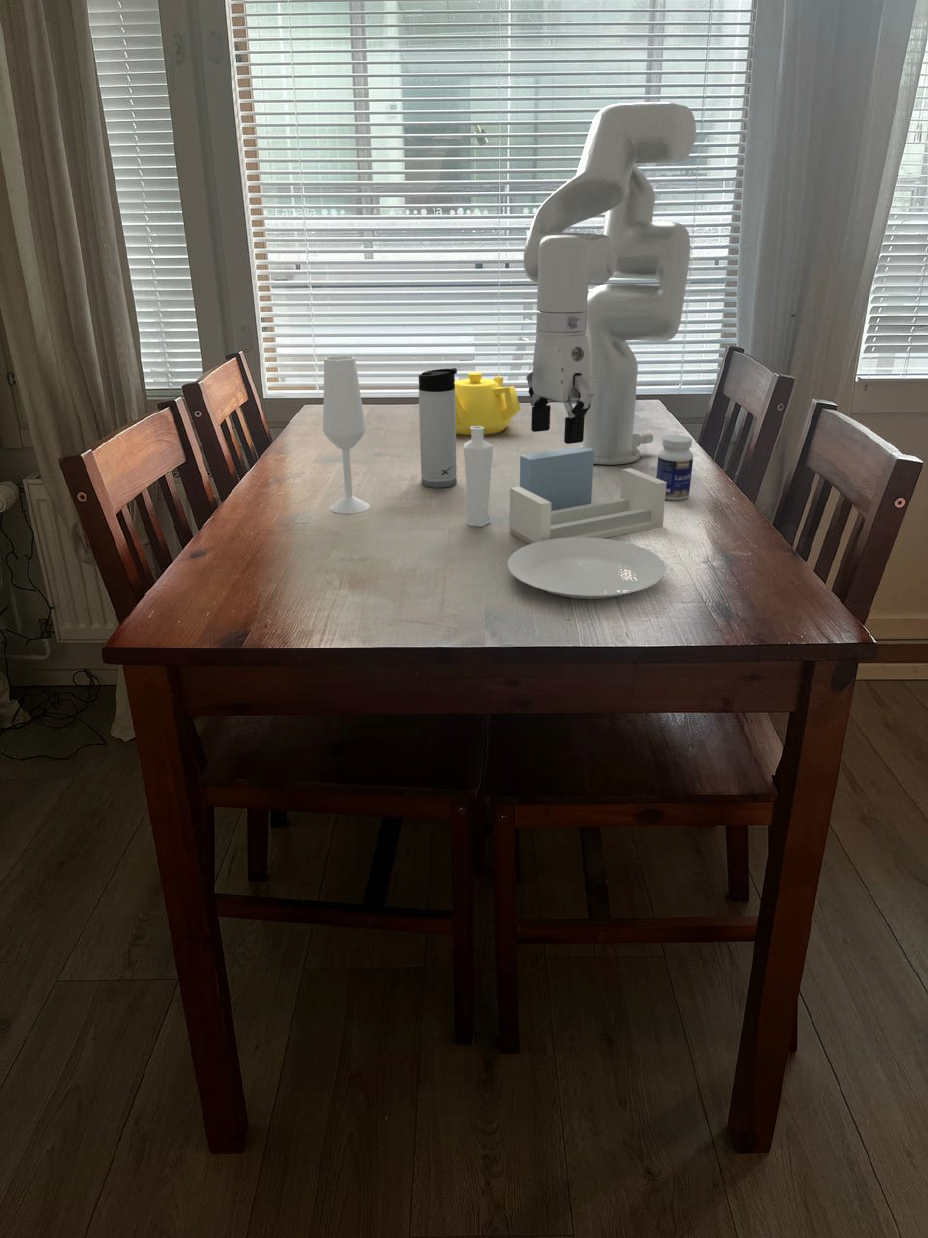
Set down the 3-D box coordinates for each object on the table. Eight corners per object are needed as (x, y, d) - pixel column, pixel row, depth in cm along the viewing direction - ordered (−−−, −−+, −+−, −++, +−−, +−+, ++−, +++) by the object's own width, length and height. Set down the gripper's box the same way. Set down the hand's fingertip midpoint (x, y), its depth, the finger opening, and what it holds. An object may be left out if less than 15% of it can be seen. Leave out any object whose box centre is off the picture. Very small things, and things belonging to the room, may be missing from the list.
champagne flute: (321, 510, 149) (309, 360, 139) (341, 499, 154) (331, 353, 144) (358, 515, 146) (348, 362, 136) (377, 503, 152) (369, 355, 142)
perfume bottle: (496, 519, 144) (496, 424, 138) (487, 528, 140) (487, 431, 134) (468, 516, 145) (467, 422, 139) (459, 525, 142) (458, 429, 135)
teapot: (522, 435, 194) (523, 377, 189) (445, 440, 191) (444, 382, 186) (501, 418, 209) (502, 364, 204) (430, 422, 206) (428, 368, 201)
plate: (554, 623, 110) (555, 606, 109) (482, 565, 127) (482, 550, 126) (697, 594, 117) (699, 578, 116) (610, 543, 134) (611, 528, 133)
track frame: (627, 510, 147) (630, 467, 144) (662, 526, 140) (666, 482, 137) (509, 532, 138) (510, 487, 135) (540, 550, 131) (541, 504, 128)
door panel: (581, 498, 153) (583, 446, 150) (591, 503, 151) (593, 450, 147) (519, 509, 149) (520, 455, 145) (528, 514, 146) (530, 459, 142)
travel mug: (454, 489, 159) (452, 372, 150) (417, 487, 160) (413, 371, 152) (461, 479, 164) (460, 365, 156) (426, 477, 166) (422, 364, 157)
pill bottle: (678, 503, 150) (683, 444, 146) (648, 496, 154) (652, 438, 150) (695, 495, 154) (701, 437, 150) (666, 489, 158) (671, 432, 153)
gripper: (615, 327, 132) (608, 445, 139) (551, 317, 146) (547, 424, 153) (572, 330, 129) (566, 450, 136) (511, 319, 143) (508, 428, 150)
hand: (556, 436), depth 144 cm, fingers open, 9 cm apart
